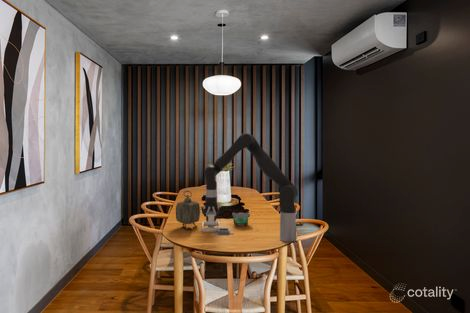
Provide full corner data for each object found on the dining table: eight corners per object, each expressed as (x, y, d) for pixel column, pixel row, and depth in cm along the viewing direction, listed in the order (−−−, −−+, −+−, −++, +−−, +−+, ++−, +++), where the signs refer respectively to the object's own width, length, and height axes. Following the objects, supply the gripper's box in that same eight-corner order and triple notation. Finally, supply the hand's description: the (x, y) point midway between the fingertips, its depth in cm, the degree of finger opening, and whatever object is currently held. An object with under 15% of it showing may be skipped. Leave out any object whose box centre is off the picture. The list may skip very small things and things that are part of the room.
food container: (233, 228, 227) (233, 214, 226) (231, 226, 233) (232, 212, 232) (251, 228, 229) (251, 213, 229) (249, 225, 235) (249, 211, 235)
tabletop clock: (199, 228, 228) (200, 191, 226) (191, 231, 220) (191, 192, 219) (183, 224, 235) (183, 189, 234) (174, 227, 227) (174, 190, 226)
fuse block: (232, 232, 218) (232, 227, 218) (233, 236, 210) (233, 231, 210) (214, 232, 217) (214, 228, 217) (214, 236, 209) (214, 231, 209)
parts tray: (219, 225, 234) (219, 221, 234) (220, 232, 216) (220, 227, 216) (202, 225, 233) (202, 221, 233) (201, 233, 215) (201, 228, 215)
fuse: (214, 225, 227) (214, 210, 226) (214, 227, 223) (214, 212, 222) (208, 225, 226) (208, 210, 226) (207, 227, 222) (208, 212, 222)
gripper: (221, 195, 228) (221, 220, 229) (200, 195, 227) (200, 220, 228) (222, 196, 220) (221, 222, 221) (200, 196, 219) (200, 223, 220)
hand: (211, 221), depth 224 cm, fingers closed on fuse, 4 cm apart
